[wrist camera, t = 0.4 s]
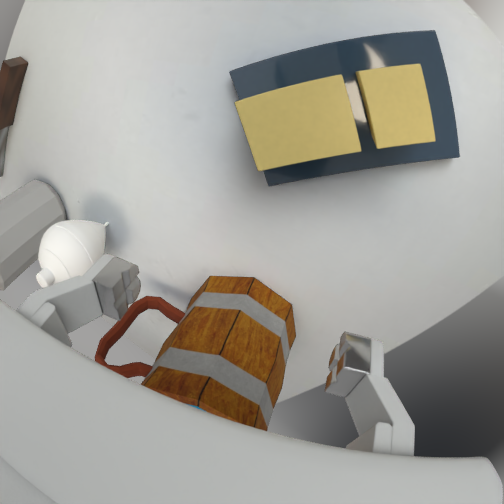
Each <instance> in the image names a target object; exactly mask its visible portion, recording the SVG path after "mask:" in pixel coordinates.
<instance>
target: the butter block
mask: <svg viewBox="0 0 504 504" xmlns="http://www.w3.org/2000/svg"><path fill="white" fill-rule="evenodd" d="M235 106H236V109H237V111H238V114H239V117H240V120H241V123H242V126H243V129H244V131H245V134H246V137H247V140H248V143H249V146H250V149H251V152H252V155H253V158H254V161H255V163H256V166H257V169H258V171H263V170H268V169H272V168H277V167H281V166H286V165H291V164H296V163H301V162H306V161H311V160H316V159H321V158H327V157H332V156H338V155H344V154H350V153H356V152H361V146H360V141H359V137H358V133H357V128H356V124H355V120H354V116H353V112H352V109H351V105H350V101H349V97H348V94H347V90H346V87H345V83H344V80H343V77H342V75H341V74H340V75H335V76H330V77H325V78H321V79H316V80H312V81H307V82H303V83H299V84H295V85H291V86H287V87H283V88H279V89H276V90H272V91H269V92H265V93H262V94H258V95H255V96H252V97H248V98H245V99H242V100H239V101H236V102H235Z"/></svg>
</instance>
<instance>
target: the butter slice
mask: <svg viewBox="0 0 504 504" xmlns="http://www.w3.org/2000/svg"><path fill="white" fill-rule="evenodd" d="M356 76H357V80H358V83H359V87H360V90H361V94H362V98H363V102H364V106H365V110H366V114H367V118H368V122H369V126H370V131H371V135H372V138H373V140H374V142H375V145H376V147H377V149H381V148H388V147H395V146H403V145H411V144H419V143H428V142H435V141H436V139H435V133H434V126H433V120H432V114H431V109H430V104H429V99H428V94H427V89H426V85H425V80H424V76H423V72H422V68H421V65H420V64H409V65H399V66H391V67H383V68H376V69H369V70H363V71H357V72H356Z"/></svg>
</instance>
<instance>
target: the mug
mask: <svg viewBox="0 0 504 504" xmlns="http://www.w3.org/2000/svg"><path fill="white" fill-rule="evenodd" d="M147 309H157V310H159V311H160V312H162V313H163V314H164V315H165V316H166V317H168V318H169V319H171V320H173V321H174V322H176V323H178V325H177V327H176V328H175V329H174V331H173V332H172V333H171V334H170V336H169V337H168V338H167V339H166V341H165V342H164V343H163V345H162V348H161V350H160V352H159V354H158V356H157V358H156V360H155V363H154V365H153V366H150V365H147V364H144V363H141V362H135V363H130V364H126V365H122V366H114V365H108V364H107V363H106V362H105V360H104V359H105V357H106V355H107V353H108V350H109V349H110V348H111V347H112V346H113V345H114V344H115V343H116V342H117V341H118V339H120V338H121V336H123V334H124V333H125V332H126V330H127V329H128V328H129V326H130V325H131V324H132V322H133V321H134V320H135V319H136V317H137V316H138V315H139V314H140V313H142V312H144V311H145V310H147ZM295 337H296V333H295V325H294V317H293V309H292V305H291V304H290V303H289V302H287V301H286V300H285V299H283V298H282V297H280V296H279V295H278V294H276V293H275V292H274V291H272V290H271V289H269V288H268V287H267V286H265V285H264V284H263V283H261V282H260V281H258V280H257V279H256V278H254V277H225V276H210V277H209V278H208V279H207V280H206V281H205V283H204V284H203V285H202V286H201V287H200V289H199V290H198V291H197V292H196V293H195V295H194V296H193V297H192V298H191V300H190V303H189V305H188V307H187V310H186V312H185V313H184V312H182V311H180V310H179V309H177V308H175V307H174V306H172V305H171V304H169V303H168V302H166V301H165V300H164V299H162V298H161V297H152V296H146V297H144V298H142V299H140V300H138V301H136V302H134V303H133V304H132V305H131V306H130V307H129V308H128V311H127V312H126V313H125V315H124V316H123V317H122V319H121V320H120V321H117V323H116V324H115V325H114V326H113V327H112V328H111V329H110V330H109V331H108V332H107V333H106V334H105V335H104V336H103V338H102V339H101V340H100V342H99V345H98V348H97V351H96V355H95V361H96V362H97V363H99V364H101V365H103V366H105V367H106V368H108V369H110V370H112V371H114V372H116V373H118V374H120V375H122V376H124V377H126V378H130V377H135V376H143V377H146V378H145V380H144V381H143V382H142V383H141V385H143V386H145V387H147V388H149V389H151V390H154V391H156V392H158V393H160V394H163V395H165V396H167V397H170V398H172V399H175V400H177V401H179V402H182V403H184V404H187V405H190V406H192V407H195V408H197V409H200V410H203V411H205V412H208V413H211V414H214V415H217V416H219V417H222V418H225V419H228V420H231V421H234V422H237V423H241V424H244V425H247V426H250V427H254V428H257V429H261V430H264V431H267V428H268V425H269V422H270V418H271V415H272V411H273V408H274V406H275V404H276V401H277V399H278V396H279V394H280V391H281V389H282V385H283V379H284V373H285V367H286V363H287V359H288V355H289V351H290V349H291V347H292V344H293V342H294V340H295Z"/></svg>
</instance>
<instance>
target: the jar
mask: <svg viewBox="0 0 504 504" xmlns="http://www.w3.org/2000/svg"><path fill="white" fill-rule="evenodd" d="M61 221H66V213H65V208H64V206H63V203H62V201H61V199H60V197H59V195H58V194H57V193H56V191H55V190H54V189H53V188H52V187H51V186H50V185H49V184H46V183H44V182H41V181H38V180H35V179H34V180H32V181H31V182H29V183H27V184H26V185H24V186H23V187H21V188H19V189H18V190H16V191H15V192H13V193H12V194H10V195H8V196H7V197H5V198H4V199H2V200H1V201H0V290H5V289H6V288H7V287H8V286H9V285H10V284H11V283H12V282H13V281H14V280H15V279H16V278H17V277H18V276H19V275H20V274H21V273H23V272H24V271H25V270H26V269H27V268H28V267H29V266H30V265H31V264H32V263H33V262H34V261H36V260H37V259H38V253H39V247H40V243H41V239H42V237H43V235H44V233H45V232H46V231H47V230H48V229H49V228H50V227H51V226H52V225H54V224H56V223H58V222H61Z"/></svg>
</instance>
